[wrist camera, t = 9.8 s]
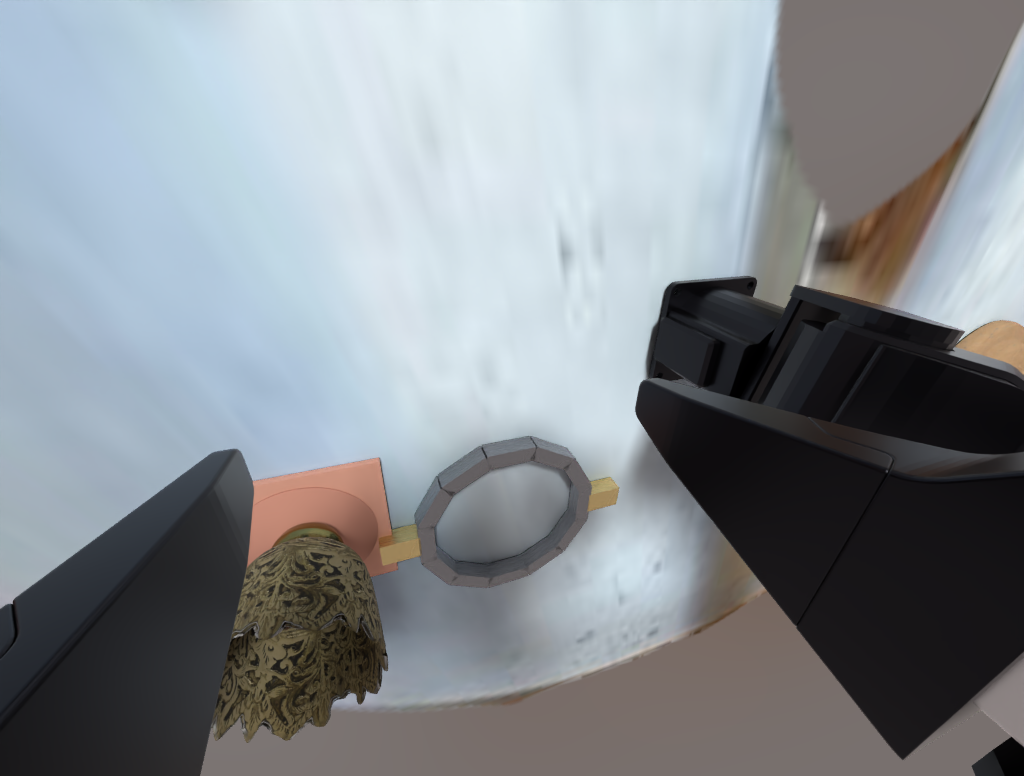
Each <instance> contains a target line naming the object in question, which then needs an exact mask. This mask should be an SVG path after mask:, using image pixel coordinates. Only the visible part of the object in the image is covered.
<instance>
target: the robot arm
mask: <svg viewBox="0 0 1024 776" xmlns="http://www.w3.org/2000/svg"><path fill="white" fill-rule="evenodd" d="M756 285H757V280H756V278H754V277H750V276H740V277H728V278H715V279H702V280H690V281H677V282H672V283H671V284H670V285H669V286H668V288H667V291H666V295H665V300H664V305H663V310H662V315H661V320H660V324H659V329H658V334H657V339H656V344H655V349H654V353H653V358H652V363H651V368H650V373H649V378H650V379H646V380H643V381H642V382H641V384H640V386H639V391H638V396H637V401H636V407H635V412H636V415H637V418H638V419H639V421H640V422H641V424H642V426H643V427H644V429H645V430H646V432H647V433H648V435H649V437H650V438H651V440H652V441H653V443H654V444H655V446H656V448H657V449H658V451H659V452H660V454H661V455H662V457H663V458H664V460H665V461H666V463H667V464H668V465H669V467H670V468H671V469H672V471H673V472H674V473H675V475H676V476H677V477H678V478H679V480H680V481H681V482H682V483H683V485H684V486H685V487H686V488H687V490H688V491H689V492H690V494H691V495H692V496H693V497H694V499H695V500H696V501H697V502H698V504H699V505H700V506H701V507H702V509H703V510H704V511H705V513H706V514H707V515H708V516H709V518H710V519H711V520H712V521H713V523H714V524H715V525H716V527H717V528H718V529H719V530H720V532H721V533H722V534H723V535H724V537H725V538H726V539H727V540H728V542H729V543H730V544H731V546H732V547H733V548H734V549H735V551H736V552H737V553H738V554H739V556H740V557H741V558H742V559H743V561H744V562H745V563H746V565H747V566H748V567H749V568H750V570H751V571H752V572H753V573H754V575H755V576H756V577H757V578H758V580H759V581H760V582H761V584H762V585H763V586H764V587H765V589H766V590H767V591H768V592H769V594H770V595H771V596H772V597H773V599H774V600H775V601H776V602H777V604H778V605H779V606H780V608H781V609H782V610H783V611H784V613H785V614H786V615H787V616H788V618H789V619H790V620H791V622H792V623H793V624H794V625H795V626H796V628H797V630H798V631H799V632H800V633H801V635H802V636H803V637H804V638H805V640H806V641H807V642H808V644H809V645H810V646H811V647H812V649H813V650H814V651H815V652H816V654H817V655H818V656H819V657H820V659H821V660H822V661H823V663H824V664H825V665H826V666H827V668H828V669H829V670H830V672H831V673H832V674H833V675H834V676H835V678H836V679H837V680H838V682H839V683H840V684H841V685H842V687H843V688H844V689H845V691H846V692H847V693H848V694H849V696H850V697H851V698H852V700H853V701H854V702H855V703H856V705H857V706H858V707H859V708H860V710H861V711H862V712H863V714H864V715H865V716H866V717H867V718H868V720H869V721H870V722H871V724H872V725H873V726H874V727H875V729H876V730H877V731H878V733H879V734H880V735H881V736H882V737H883V739H884V740H885V741H886V743H887V744H888V745H889V746H890V747H891V749H892V750H893V751H894V752H895V753H896V754H897V755H898V756H899V757H900V758H901V759H902V760H905V759H906V758H908V757H910V756H911V755H913V754H914V753H916V752H917V751H919V750H920V749H922V748H924V747H925V746H927V745H928V744H930V743H931V742H933V741H934V740H936V739H938V738H939V737H941V736H942V735H944V734H945V733H947V732H948V731H950V730H952V729H953V728H954V727H956V726H958V725H959V724H961V723H962V722H964V721H966V720H967V719H969V718H970V717H972V716H973V715H975V714H976V713H978V712H979V711H981V710H982V711H983V712H984V713H985V714H986V715H987V716H988V717H990V718H991V719H992V720H993V721H994V722H995V723H996V724H998V725H999V726H1000V727H1001V728H1002V729H1003V730H1005V731H1006V732H1007V733H1008V734H1009V735H1010V736H1011V738H1009V739H1008V740H1006V741H1005V742H1003V743H1002V744H1001V745H999V746H998V747H996V748H995V749H993V750H992V751H991V752H989V753H988V754H987V755H985V756H984V757H983V758H982V759H980V760H979V761H978V762H976V763H975V764H974V765H972V768H973V770H974V773H975V776H1024V375H1023V374H1022V373H1021V372H1020V371H1019V370H1018V369H1017V368H1015V367H1014V366H1012V365H1011V364H1008V363H1006V362H1003V361H1000V360H997V359H993V358H990V357H987V356H983V355H980V354H977V353H973V352H970V351H967V350H963V349H960V348H957V347H955V345H956V343H957V342H958V341H959V339H960V338H961V336H962V335H963V334H964V332H965V331H963V330H960V329H957V328H954V327H951V326H948V325H945V324H942V323H938V322H935V321H932V320H929V319H926V318H923V317H920V316H917V315H914V314H910V313H907V312H904V311H901V310H897V309H893V308H890V307H886V306H882V305H878V304H874V303H871V302H867V301H863V300H859V299H856V298H852V297H847V296H843V295H839V294H834V293H830V292H825V291H821V290H816V289H812V288H807V287H803V286H799V285H795V286H794V288H793V290H792V292H791V294H790V296H792V297H791V299H790V300H789V302H788V304H787V306H786V308H783V307H780V306H777V305H774V304H771V303H768V302H765V301H763V300H760V299H757V298H754V297H753V294H754V291H755V288H756ZM676 289H677V291H676V293H675V294H674V292H675V290H676ZM658 373H659V374H658ZM657 374H658V375H657ZM678 379H686V380H687V381H689V382H690V383H692V384H694V385H695V386H697V387H699V388H702V389H699V388H695V387H691V386H687V385H683V384H679V383H676V382H672V380H678ZM703 389H704V390H703ZM253 500H254V485H253V481H252V478H251V476H250V473H249V471H248V468H247V465H246V463H245V460H244V458H243V455H242V453H241V452H240V451H239V450H238V449H229V450H223V451H217V452H213V453H211V454H210V455H208V456H207V457H206V458H204V459H203V460H202V461H200V462H199V463H198V464H196V465H195V466H194V467H192V468H191V469H189V470H188V471H187V472H185V473H184V474H183V475H181V476H180V477H179V478H177V479H176V480H175V481H173V482H172V483H170V484H169V485H168V486H166V487H165V488H164V489H162V490H161V491H160V492H158V493H157V494H156V495H154V496H153V497H152V498H150V499H149V500H147V501H146V502H145V503H143V504H142V505H141V506H139V507H138V508H137V509H135V510H134V511H133V512H131V513H130V514H128V515H127V516H126V517H124V518H123V519H122V520H120V521H119V522H118V523H116V524H115V525H114V526H112V527H111V528H110V529H108V530H107V531H105V532H104V533H103V534H101V535H100V536H99V537H97V538H96V539H95V540H93V541H92V542H91V543H89V544H88V545H86V546H85V547H84V548H82V549H81V550H80V551H78V552H77V553H76V554H74V555H73V556H72V557H70V558H69V559H68V560H66V561H65V562H63V563H62V564H61V565H59V566H58V567H57V568H55V569H54V570H53V571H51V572H50V573H49V574H47V575H46V576H44V577H43V578H42V579H40V580H39V581H38V582H36V583H35V584H34V585H32V586H31V587H30V588H28V589H27V590H26V591H24V592H23V593H21V594H20V595H19V596H17V597H16V598H15V599H14V600H13V604H7V605H5V606H4V607H2V608H1V609H0V776H200V774H201V769H202V765H203V761H204V756H205V751H206V747H207V743H208V738H209V734H210V730H211V725H212V721H213V716H214V712H215V707H216V703H217V699H218V694H219V690H220V685H221V681H222V676H223V672H224V668H225V663H226V659H227V654H228V650H229V645H230V641H231V637H232V632H233V628H234V623H235V619H236V614H237V610H238V606H239V601H240V597H241V592H242V588H243V583H244V579H245V574H246V569H247V564H248V555H249V545H250V534H251V522H252V511H253Z"/></svg>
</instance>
